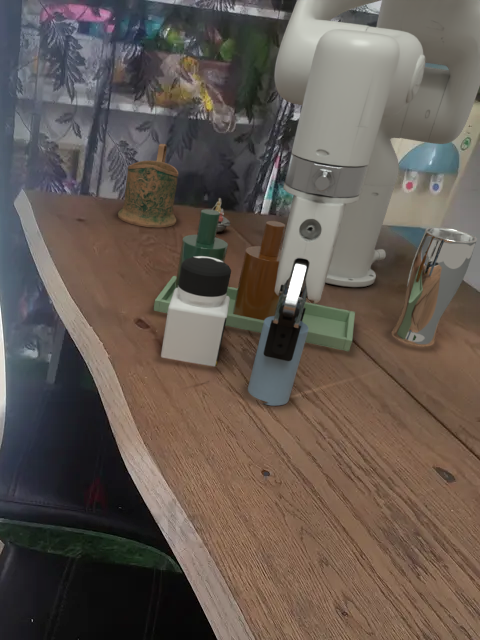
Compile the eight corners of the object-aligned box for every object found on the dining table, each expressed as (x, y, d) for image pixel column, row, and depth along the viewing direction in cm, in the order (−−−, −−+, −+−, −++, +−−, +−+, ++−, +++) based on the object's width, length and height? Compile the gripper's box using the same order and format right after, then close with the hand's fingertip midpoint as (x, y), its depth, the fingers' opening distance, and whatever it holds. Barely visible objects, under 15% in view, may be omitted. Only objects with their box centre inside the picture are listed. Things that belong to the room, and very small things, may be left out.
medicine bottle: (215, 370, 92) (235, 275, 85) (159, 360, 93) (174, 265, 86) (219, 347, 98) (238, 257, 91) (166, 338, 99) (181, 248, 91)
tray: (351, 324, 109) (355, 311, 108) (348, 354, 100) (352, 340, 99) (171, 288, 114) (173, 275, 113) (152, 313, 105) (154, 299, 104)
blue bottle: (267, 382, 91) (290, 291, 84) (297, 400, 87) (324, 307, 81) (238, 391, 88) (259, 297, 81) (268, 409, 85) (293, 314, 78)
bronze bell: (183, 208, 153) (193, 145, 146) (171, 230, 139) (181, 162, 132) (129, 200, 155) (136, 137, 148) (112, 221, 141) (119, 153, 134)
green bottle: (196, 293, 112) (212, 203, 105) (224, 308, 108) (243, 216, 101) (164, 298, 109) (177, 207, 101) (192, 314, 105) (208, 220, 97)
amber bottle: (254, 304, 111) (275, 215, 103) (285, 320, 107) (309, 228, 99) (223, 311, 107) (242, 218, 100) (254, 327, 103) (276, 232, 96)
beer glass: (436, 336, 108) (476, 232, 99) (437, 354, 103) (480, 246, 94) (387, 326, 110) (423, 223, 101) (386, 343, 104) (424, 235, 95)
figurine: (226, 229, 144) (232, 196, 141) (230, 235, 141) (237, 203, 137) (199, 226, 144) (205, 194, 140) (203, 233, 140) (209, 200, 137)
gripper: (360, 203, 66) (306, 386, 77) (364, 168, 79) (318, 328, 90) (277, 189, 67) (236, 370, 78) (294, 157, 81) (257, 316, 91)
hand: (280, 346), depth 84 cm, fingers closed on blue bottle, 5 cm apart
